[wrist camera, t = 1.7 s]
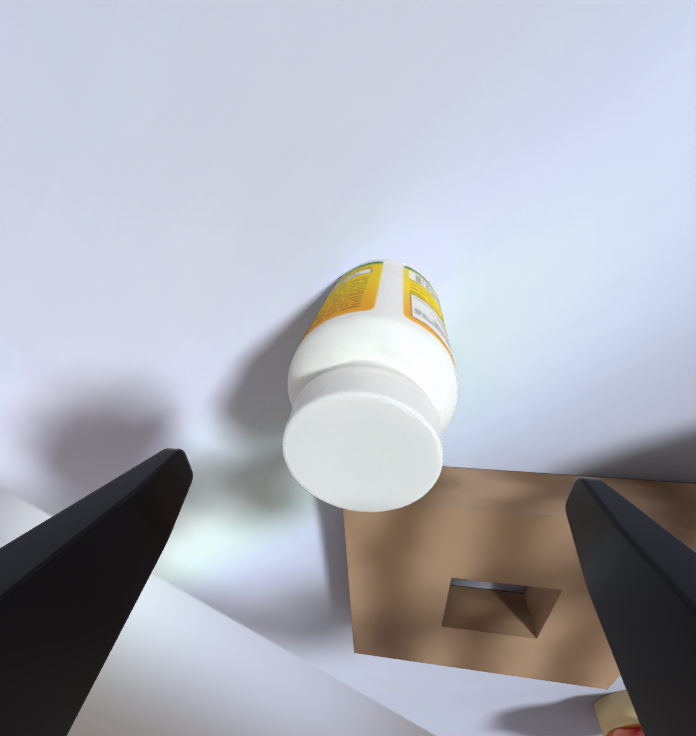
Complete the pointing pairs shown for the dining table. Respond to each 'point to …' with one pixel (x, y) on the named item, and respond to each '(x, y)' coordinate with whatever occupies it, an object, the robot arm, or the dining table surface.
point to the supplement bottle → (371, 391)
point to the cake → (617, 715)
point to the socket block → (491, 575)
